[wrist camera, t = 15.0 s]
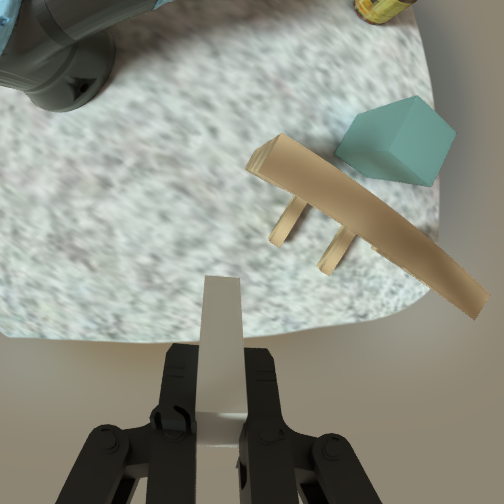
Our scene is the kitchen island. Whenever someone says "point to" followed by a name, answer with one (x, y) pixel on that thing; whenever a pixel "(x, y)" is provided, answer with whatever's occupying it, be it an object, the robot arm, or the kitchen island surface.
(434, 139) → the block
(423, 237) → the wooden arch frame
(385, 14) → the sauce bottle
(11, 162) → the kitchen island surface
